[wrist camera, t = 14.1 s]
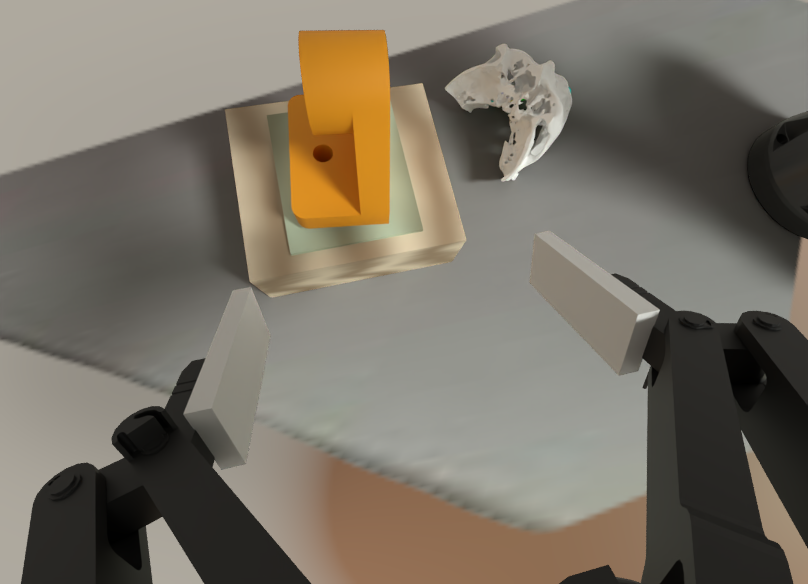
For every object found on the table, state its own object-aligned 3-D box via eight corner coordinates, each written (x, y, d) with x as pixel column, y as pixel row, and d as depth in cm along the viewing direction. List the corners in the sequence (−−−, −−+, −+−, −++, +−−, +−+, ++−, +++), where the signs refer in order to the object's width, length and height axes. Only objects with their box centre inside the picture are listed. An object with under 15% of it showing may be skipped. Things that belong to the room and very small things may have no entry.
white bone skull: (606, 136, 37) (589, 113, 30) (533, 189, 43) (502, 182, 35) (545, 50, 40) (515, 9, 32) (482, 111, 45) (444, 88, 37)
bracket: (294, 118, 31) (246, -34, 20) (377, 115, 32) (378, -33, 20) (299, 233, 29) (248, 138, 17) (388, 227, 30) (397, 132, 18)
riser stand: (415, 126, 39) (423, 79, 33) (451, 261, 36) (467, 238, 30) (248, 150, 37) (223, 106, 31) (271, 297, 34) (247, 280, 28)
